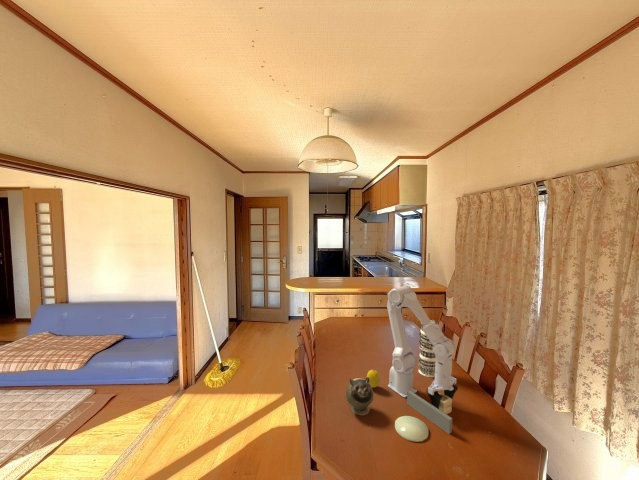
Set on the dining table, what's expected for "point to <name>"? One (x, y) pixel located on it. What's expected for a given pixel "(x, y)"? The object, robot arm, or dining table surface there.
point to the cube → (445, 404)
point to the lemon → (373, 378)
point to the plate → (411, 428)
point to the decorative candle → (426, 355)
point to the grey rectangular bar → (430, 412)
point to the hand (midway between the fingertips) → (441, 406)
